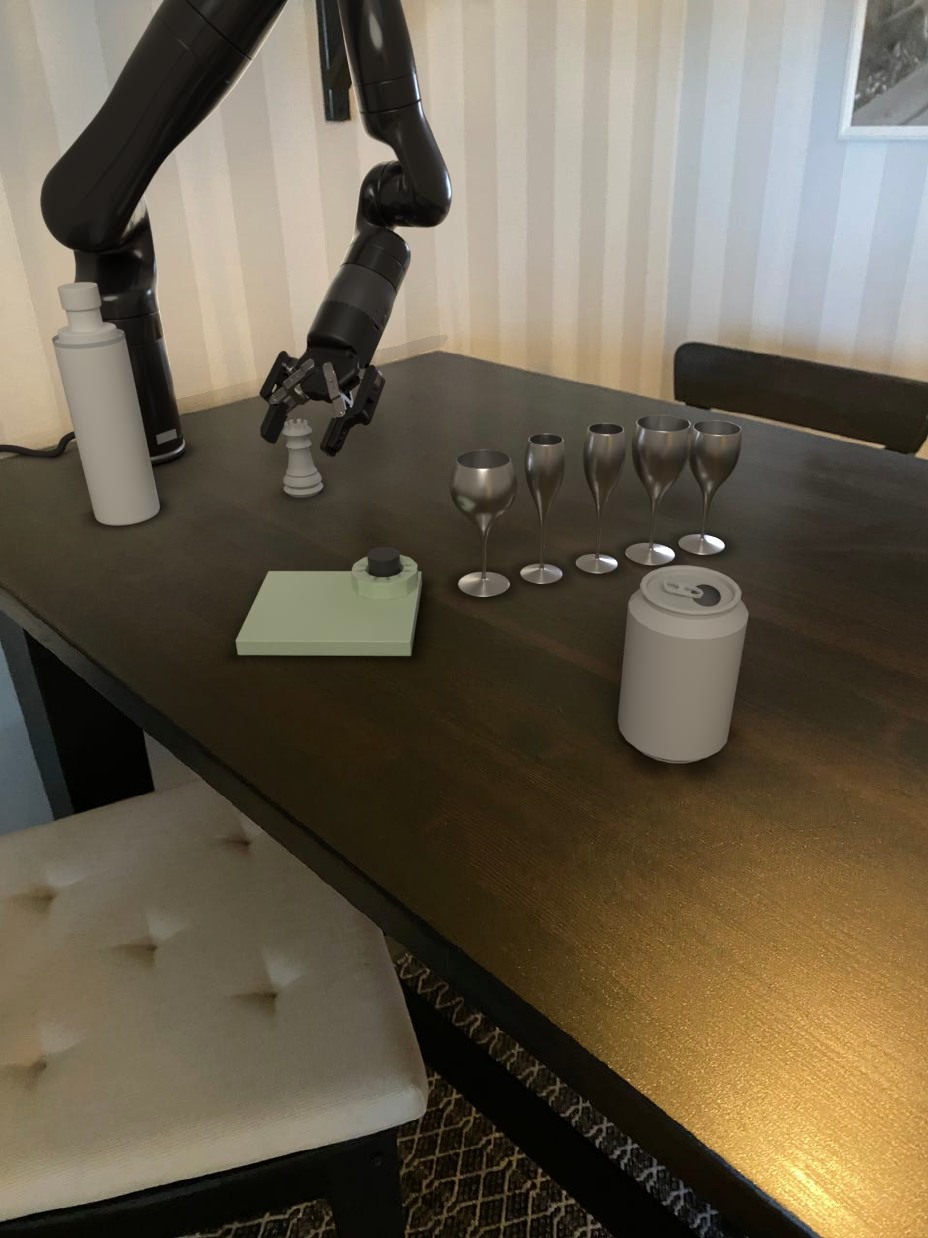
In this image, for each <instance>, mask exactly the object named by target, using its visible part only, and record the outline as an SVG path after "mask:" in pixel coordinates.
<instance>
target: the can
mask: <svg viewBox="0 0 928 1238" xmlns="http://www.w3.org/2000/svg"><path fill="white" fill-rule="evenodd" d="M742 593H743V592H742V590H741V588H740V586H739V584H738V583H736V581H734V580H733V579H732V578H731V577H730V576H728V575H726V574H724V573H722V572H719V571H717V570H714V569H711V568H707V567H704V566H703V567H702V566H698V565H697V566H696V565H688V564H687V565H681V564H680V565H676V564H675V565H669V566H663V567H660V568H657V569H654V570H651V571H650V572H649V573H647V574H645V575H644V576H643V577H642V579H641V581H640V583H639V589H638V590H636V591H635V592H634V593H633V594H631V596H630V598H629V601H628V603H627V613H626V623H625V634H624V635H625V636H624V647H623V657H622V671H621V679H620V680H621V681H620V691H619V692H620V693H619V702H618V716H617V723H618V729H619V732H620V733H621V735H622V736H623V738H624V739H625V741H626V742H627V743H629V744H630V745H631V746H633V747H634V748H635V749H636V750H638V751H639V752H641V753H642V755H644V756H647V757H649V758H651V759H654V760H656V761H658V762H662V763H663V762H664V763H669V764H689V763H694V762H698V761H700V760H703V759H707V758H708V757H710V756H713V755H714V754H716V753H718V752H720V751H721V750H722V749H723V747H724V746H725V745H726V744H727V743H728V737H729V733H730V728H731V721H732V715H733V708H734V704H735V703H734V702H735V697H736V691H737V686H738V680H739V674H740V667H741V662H742V656H743V650H744V644H745V639H746V633H747V626H748V620H749V614H750V613H749V610H748V609H747V607H746V604H745V603H744V601H742V599H741V598H742V595H743V594H742Z"/></svg>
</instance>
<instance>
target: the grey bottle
mask: <svg viewBox="0 0 928 1238" xmlns="http://www.w3.org/2000/svg"><path fill="white" fill-rule="evenodd" d="M57 292H58V297H59V301H60V306H61V308H62V310H64V311H65V314H66V318H67V322H68V323H67V324H68V325H65V326H62V327H60V328H59V329H58V330H57V334H56V335H54V336H53V337H52V338H51V342H52V346H53V350H54V353H55V358H56V363H57V366H58V371H59V374H60V379H61V383H62V388H63V391H64V395H65V400H66V405H67V408H68V412H69V416H70V421H71V424H72V428H73V431H74V433H75V437H76V438H75V441H76V445H77V449H78V454H79V457H80V461H81V465H82V469H83V473H84V478H85V482H86V486H87V489H88V493H89V494H88V495H89V498H90V502H91V506H92V510H93V514H94V518H95V519H96V521H97V522H99V523H100V524H103V525H107V526H114V527H115V526H119V527H120V526H129V525H135V524H139V523H143V522H145V521H148V520H150V519H152V518H153V517H155V516H156V515H158V513H159V512H160V508H161V507H160V499H159V495H158V491H157V487H156V481H155V475H154V472H153V467H152V465H151V461H150V456H149V451H148V446H147V441H146V436H145V431H144V426H143V421H142V416H141V412H140V407H139V402H138V397H137V392H136V387H135V382H134V377H133V373H132V368H131V363H130V358H129V353H128V349H127V344H126V339H125V334H124V331H122V330H120V329H117V328H116V326H115V325H114V324H112V323H107V322H102V318H101V313H100V308H99V307H100V306H101V300H100V295H99V291H98V286H97V284H96V283H91V282H79V283H74V282H70V283H64V284H61V285H58V286H57Z"/></svg>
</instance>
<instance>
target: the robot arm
mask: <svg viewBox="0 0 928 1238" xmlns="http://www.w3.org/2000/svg"><path fill="white" fill-rule="evenodd" d="M289 1H290V0H162V2H161V3H160V5H159V6H158V8H157V9H156V11H155V13H154V14H153V15H152V18H151V19H150V21H149V23H148V25H147V26H146V28H145V30H144V32H143V33H142V35H141V37H140V38H139V40H138V42H137V43H136V45H135V47H134V48H133V51H132V52H131V54H130V55H129V57H128V59H127V61H126V63H125V64H124V66H123V68H122V70H121V71H120V73H119V76H118V77H117V79H116V81H115V82H114V85H113V87H112V88H111V91H110V92H109V94H108V95H107V98H106V100H104V102H103V104H102V106H101V107H100V108H99V110H98V111H97V113H96V114H95V116H94V117H93V118H92V119H91V121H90V122H89V123H88V125H87V126H85V128H84V130H83V131H82V132H81V133H80V134H79V135H78V137H77V138H76V139H75V141H73V143H72V144H71V146H69V148H68V149H67V150H66V151H65V152H64V153H63V155H62V156H61V157H60V158H59V159H58V160H57V162H56V163H55V164H54V165H53V166H52V167H51V168H50V169H49V171H48V172H47V174H46V176H45V178H44V180H43V183H42V185H41V189H40V197H39V203H40V205H39V206H40V212H41V216H42V220H43V222H44V224H45V227H46V228H47V230H48V231H49V234H51V236H52V237H53V238H54V239H55V241H57V242H58V243H59V244H60V245H62V246H63V247H65V248H67V249H69V250H71V251H72V252H73V257H74V264H75V265H74V266H75V268H74V269H75V273H74V280H73V283H79V282H91V283H96V284H97V286H98V291H99V295H100V300H101V306H100V307H99V308H100V313H101V318H102V322H107V323H112V324H114V325H115V326H116V328H117V329H120V330H122V331H124V334H125V339H126V344H127V349H128V353H129V358H130V363H131V368H132V373H133V377H134V382H135V387H136V392H137V397H138V402H139V407H140V412H141V416H142V421H143V426H144V431H145V436H146V441H147V446H148V451H149V456H150V461H151V466H152V465H153V466H154V465H158V464H163V463H166V462H169V461H173V460H175V459H177V458H178V457H180V456H182V455H183V454H184V453H185V452H186V449H187V447H186V441H185V438H184V433H183V430H182V429H183V428H182V424H181V418H180V413H179V408H178V407H179V406H178V402H177V396H176V390H175V384H174V380H173V375H172V374H173V373H172V368H171V364H170V358H169V352H168V351H169V350H168V346H167V341H166V336H165V331H164V324H163V319H162V313H161V309H160V303H159V295H158V287H159V270H158V269H159V268H158V262H157V255H156V249H155V242H154V235H153V228H152V221H151V216H150V215H151V214H150V211H149V205H148V202H147V198H146V195H145V193H146V191H147V190H148V187H149V186H150V185H151V183H152V181H153V179H154V178H155V176H156V175H157V173H158V172H159V170H160V169H161V167H162V166H163V164H165V162H166V160H167V159H168V158H169V157H170V156H171V155H172V154H173V153H174V151H176V149H177V148H178V147H179V146H180V145H181V144H183V143H184V142H185V141H186V140H187V139H188V138H189V137H190V136H191V135H192V133H194V132H195V131H196V130H197V129H198V128H199V127H201V125H202V124H204V122H205V121H207V120H208V119H209V117H211V115H212V114H213V113H214V112H215V111H216V110H217V109H218V108H219V106H220V105H221V104H222V103H223V102H224V100H225V99H226V98H227V97H228V96H229V94H231V92H232V91H233V90H234V88H235V87H236V85H237V84H238V83H239V81H240V80H241V78H242V77H243V76H244V74H245V73H246V71H247V70H248V68H249V67H250V65H251V64H252V63H253V62H254V59H256V57H257V55H258V54H259V52H260V51H261V49H262V47H263V45H264V44H265V42H266V41H267V39H268V37H270V34H271V32H272V31H273V29H274V28H275V26H276V24H277V22H278V21H279V19H280V17H281V16H282V14H283V12H284V10H285V8H286V6H287V4H288V3H289ZM337 6H338V11H339V17H340V22H341V23H340V24H341V28H342V34H343V41H344V47H345V53H346V58H347V63H348V68H349V73H350V78H351V79H350V80H351V83H352V88H353V93H354V97H355V103H356V108H357V111H358V117H359V120H360V125H361V128H362V132H363V133H364V135H365V136H366V137H367V138H368V139H369V140H372V141H374V142H377V143H380V144H382V145H385V146H387V147H388V148H390V149H391V151H393V154H394V155H395V157H396V159H384V160H380V161H378V162H376V163H374V164H372V166H371V167H369V169H368V170H367V171H366V173H365V174H364V176H363V178H362V180H361V182H360V185H359V190H358V196H357V204H356V211H355V216H354V225H353V232H352V238H351V241H350V243H349V245H348V247H347V250H346V252H345V253H344V256H343V259H342V261H341V264H340V266H339V268H338V270H337V272H336V273H335V275H334V276H333V278H332V279H331V281H330V283H329V285H328V287H327V289H326V291H325V293H324V296H323V297H322V301H321V303H320V305H319V307H318V310H317V311H316V314H315V316H314V319H313V321H312V323H311V325H310V327H309V329H308V332H307V334H306V349H305V351H304V352H303V354H302V355H301V356H299V357H296V356H291V355H290V354H289V353H288V352H287V351H286V350H281V351H280V352H279V353H278V355H277V356H276V359H274V360H275V361H274V362H273V365H272V366H271V368H270V369H269V370H270V371H269V372H268V374H267V376H266V378H265V381H263V384H262V386H261V388H260V390H259V396H260V398H262V399H263V400H264V401H265V402H266V403H267V404H268V409H267V411H266V413H265V416H264V419H263V420H262V422H261V425H260V428H259V432H260V434H259V435H260V437H261V438H262V439H263V440H264V441H266V442H267V443H269V444H273V445H275V444H276V443H277V442H278V440H279V437H280V435H281V433H282V431H283V429H284V427H285V424H284V423H285V422H287V419H288V417H289V416H288V414H289V413H291V412H292V411H293V410H294V409H296V408H297V407H298V406H305V404H307V403H308V402H309V401H314V402H322V401H323V402H325V403H327V404H331V405H333V409H334V414H335V417H331V419H330V421H329V423H328V425H327V428H326V431H324V435H323V437H322V439H321V442H320V443H319V450H320V451H321V452H322V453H323V454H325V455H326V456H327V457H329V458H335V457H336V456H337V454H339V453H340V451H341V450H342V449H343V446H344V444H345V442H346V440H347V436H348V435H349V432H350V431H351V429H352V428H353V427H355V426H356V425H361V424H362V425H363V426H366V427H367V426H369V425H370V424H371V423H372V420H373V417H374V415H375V412H376V409H377V406H378V404H379V401H380V398H381V396H382V392H383V390H384V388H385V385H386V381H387V380H386V377H385V376H384V374H383V373H382V372H381V371H380V370H379V368H377V367H376V366H375V365H374V364H371V363H372V360H373V358H374V356H375V353H376V351H377V348H378V346H379V345H380V341H381V339H382V337H383V335H384V333H385V330H386V328H387V325H388V323H389V320H390V318H391V315H392V313H393V308H394V304H395V301H396V299H397V296H398V293H399V291H400V289H401V287H402V284H403V282H404V280H405V278H406V275H407V272H408V270H409V268H410V264H411V261H412V251H411V248H410V246H409V244H408V242H406V240H405V239H404V238H403V237H402V236H401V235H400V234H399V233H398V232H396V231H395V230H396V228H416V229H417V228H419V229H430V228H436V227H438V226H439V225H441V224H442V223H443V222H444V221H445V220H446V218H447V217H448V215H449V213H450V210H451V206H452V201H453V186H452V180H451V175H450V172H449V169H448V167H447V163H446V161H445V158H444V157H443V154H442V152H441V150H440V147H439V145H438V142H437V141H436V138H435V135H434V132H433V129H432V128H431V126H430V123H429V121H428V118H427V116H426V114H425V109H424V107H423V99H422V93H421V87H420V81H419V75H418V70H417V65H416V59H415V53H414V48H413V44H412V39H411V35H410V31H409V27H408V24H407V19H406V14H405V11H404V8H403V5H402V0H337ZM297 386H299V387H300V390H301V391H300V390H298V389H297V388H296V387H297ZM357 386H358V389H357V392H356V393H355V394H356V395H355V397H354V398H353V393H352V391H353V390H354V389H355V388H356V387H357ZM274 388H275V389H274ZM273 390H274V392H273ZM287 398H288V399H287ZM285 400H286V401H285ZM73 440H76V437H75V433H74V430H73V431H70V432H68V433H66V434H65V435H63V436H62V437H61V438H60V440H59V442H58V444H57V446H56V448H54V449H51V450H36V449H33V448H28V447H25V446H21V445H15V444H0V453H15V454H20V455H22V456H28V457H32V458H33V457H35V458H46V459H47V458H49V459H50V458H56V457H58V456H61V455H62V454H64V452H65V451H66V449H67V445H68V444H69V443H70V442H71V441H73Z"/></svg>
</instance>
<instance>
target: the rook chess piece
mask: <svg viewBox="0 0 928 1238" xmlns="http://www.w3.org/2000/svg"><path fill="white" fill-rule="evenodd" d="M312 432H313V428H311V426H310V425H309V421H308V420H307V419H302V418H296V422H294V419H293V418H291V419H288V421H286V422H285V423H284V427H283V429H282V431H281V433H282V435H283V436H284V437H285V438H286V440H287V442H286V444H285V447H286V448H287V452H288V453H287V454H288V455H287V456H288V457H287V460H288V461H287V463H288V464H287V469H286V470H285V472H286V474H285V475H284V476H283V479H282V482H283V484H284V487H283V491H284V492H285V493H286V495H288V496H289V497H291V498H299V499H304V498H311V497H314V496H317V495H319V494H320V493H321V491H322V489H323V488H324V484H323V483H322V482H321V481H322V480H323V477H322V475H321V473H320V472H319V471H318V469H317V466H315V464H314V461H313V457H312V452H311V446H312V441H311V440H310V435H311V434H312Z"/></svg>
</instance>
